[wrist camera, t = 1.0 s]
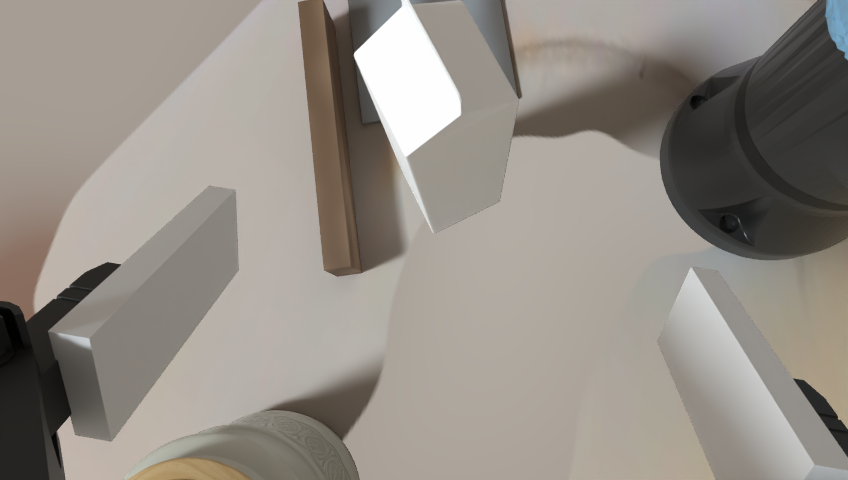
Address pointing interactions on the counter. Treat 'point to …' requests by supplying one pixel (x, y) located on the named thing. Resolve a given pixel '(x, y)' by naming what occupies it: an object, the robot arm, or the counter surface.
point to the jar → (253, 452)
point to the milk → (441, 107)
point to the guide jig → (368, 12)
